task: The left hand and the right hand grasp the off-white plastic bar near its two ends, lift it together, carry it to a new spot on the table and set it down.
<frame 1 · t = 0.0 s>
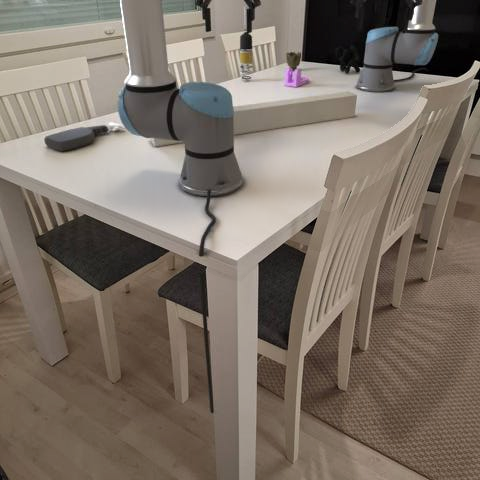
left hand: (228, 32, 139), 28 cm above the table, tool pointing down, fingers open, 13 cm apart
right hand: (381, 31, 134), 28 cm above the table, tool pointing down, fingers open, 13 cm apart
filter: (246, 81, 205), on the table
bar: (259, 128, 146), on the table
squiggle: (348, 72, 217), on the table
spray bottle: (88, 138, 140), on the table
bracket: (298, 83, 198), on the table
cup: (293, 70, 222), on the table
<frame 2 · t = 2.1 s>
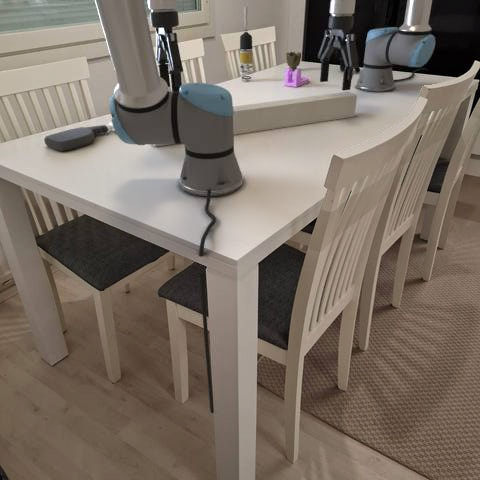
left hand: (171, 92, 130), 15 cm above the table, tool pointing down, fingers open, 13 cm apart
right hand: (334, 85, 149), 11 cm above the table, tool pointing down, fingers open, 13 cm apart
nothing on the table moved.
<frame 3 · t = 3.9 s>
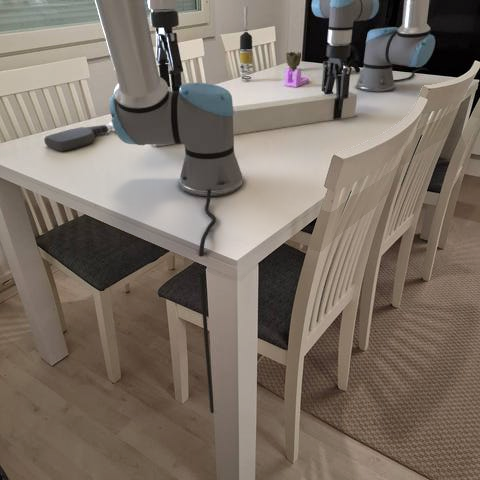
left hand: (171, 92, 130), 15 cm above the table, tool pointing down, fingers open, 13 cm apart
right hand: (332, 115, 155), 0 cm above the table, tool pointing down, fingers closed on bar, 5 cm apart
bar: (259, 128, 146), on the table, touching right hand
everything else where it was.
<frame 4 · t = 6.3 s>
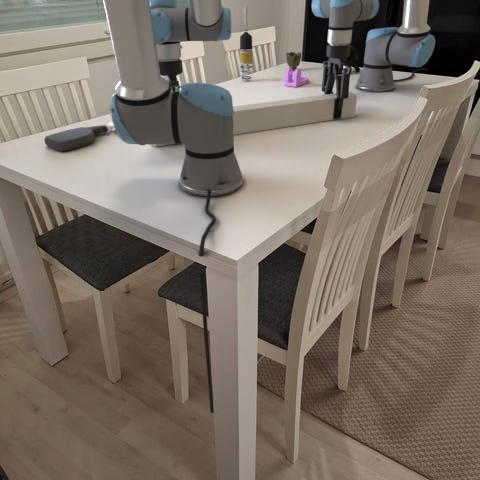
left hand: (176, 139, 137), 0 cm above the table, tool pointing down, fingers closed on bar, 5 cm apart
right hand: (332, 115, 155), 0 cm above the table, tool pointing down, fingers closed on bar, 5 cm apart
bar: (259, 128, 146), on the table, touching left hand, right hand
everything else where it was.
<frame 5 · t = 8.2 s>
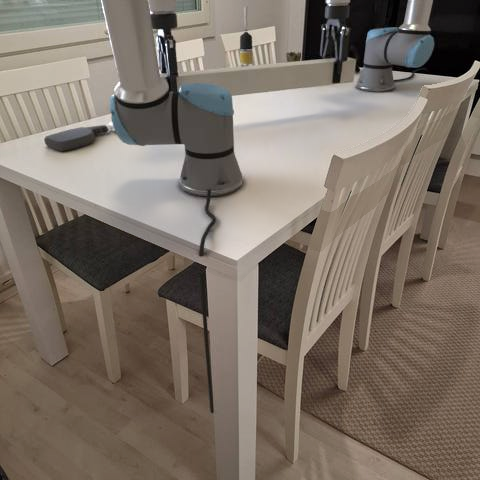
left hand: (171, 98, 134), 12 cm above the table, tool pointing down, fingers closed on bar, 5 cm apart
right hand: (331, 80, 152), 11 cm above the table, tool pointing down, fingers closed on bar, 5 cm apart
bar: (256, 91, 144), point 11 cm above the table, touching left hand, right hand
everything else where it was.
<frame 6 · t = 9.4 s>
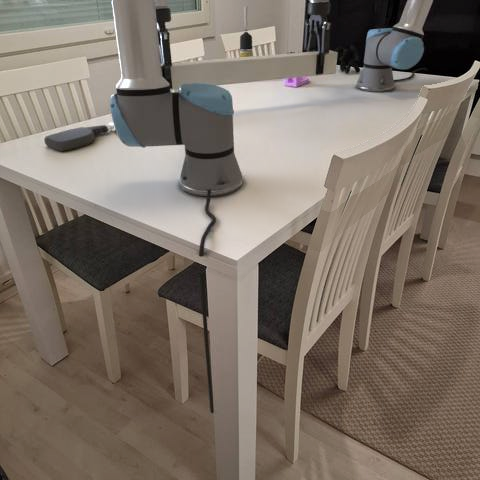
left hand: (165, 86, 147), 12 cm above the table, tool pointing down, fingers closed on bar, 5 cm apart
right hand: (315, 72, 164), 11 cm above the table, tool pointing down, fingers closed on bar, 5 cm apart
bar: (244, 80, 156), point 11 cm above the table, touching left hand, right hand
everything else where it was.
when the left hand's fingers open (2 cm above the table, at t = 12.5 s): bar stays where it is, on the table.
when the right hand's fingers open (2 cm above the table, at t = 12.5 s): bar stays where it is, on the table.
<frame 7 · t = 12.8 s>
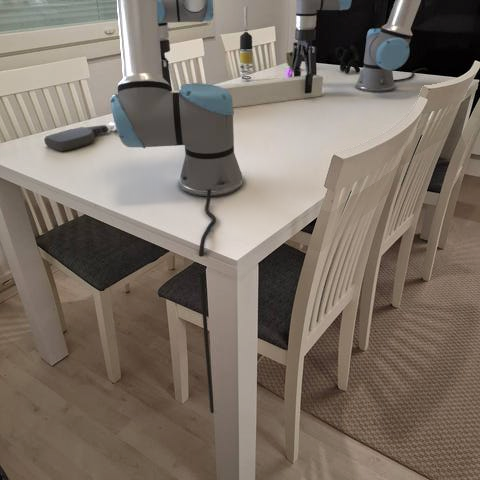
left hand: (164, 107, 160), 3 cm above the table, tool pointing down, fingers open, 9 cm apart
right hand: (302, 90, 178), 3 cm above the table, tool pointing down, fingers open, 9 cm apart
bar: (237, 104, 170), on the table
everything else where it was.
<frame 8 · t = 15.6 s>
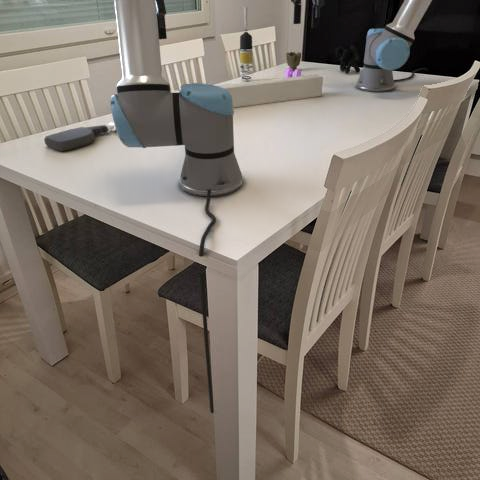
left hand: (157, 36, 148), 26 cm above the table, tool pointing down, fingers open, 13 cm apart
right hand: (305, 25, 166), 26 cm above the table, tool pointing down, fingers open, 13 cm apart
nothing on the table moved.
at the end: bar inside the target area (0.1 cm from its centre), on the table; bar tilted 0°; bar never tilted more than 1° during the clip; both hands held the bar at the same time; the left hand is holding nothing; the right hand is holding nothing; bar at rest at the end (0.0 cm/s) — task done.
